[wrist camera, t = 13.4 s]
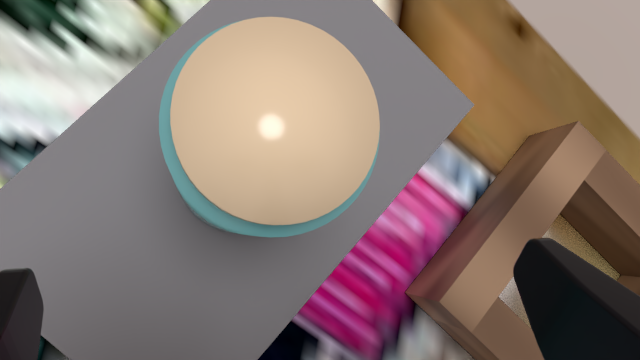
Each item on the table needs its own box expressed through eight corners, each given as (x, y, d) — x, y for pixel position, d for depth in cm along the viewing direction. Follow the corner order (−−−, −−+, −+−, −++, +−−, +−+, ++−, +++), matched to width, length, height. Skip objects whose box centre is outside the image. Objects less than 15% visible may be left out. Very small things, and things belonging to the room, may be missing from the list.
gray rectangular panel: (292, -65, 24) (296, -77, 23) (463, 109, 26) (474, 104, 25) (-51, 245, 20) (-64, 246, 19) (179, 442, 21) (178, 451, 20)
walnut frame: (555, 435, 25) (612, 467, 22) (404, 292, 24) (439, 302, 20) (662, 272, 27) (727, 277, 24) (529, 135, 26) (578, 121, 23)
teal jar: (327, 196, 22) (428, 171, 13) (212, 257, 21) (227, 282, 11) (269, 83, 22) (327, -28, 13) (149, 137, 21) (111, 58, 11)
